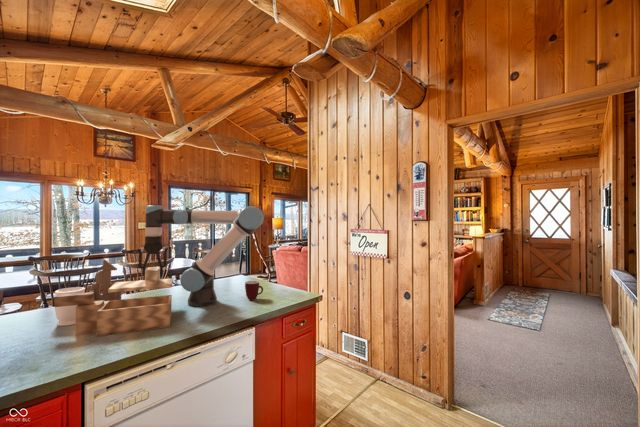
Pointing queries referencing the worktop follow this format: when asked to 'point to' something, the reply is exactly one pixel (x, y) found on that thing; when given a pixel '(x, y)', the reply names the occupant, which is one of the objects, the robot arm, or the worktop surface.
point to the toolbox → (123, 315)
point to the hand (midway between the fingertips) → (152, 281)
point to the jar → (67, 307)
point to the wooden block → (74, 299)
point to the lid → (143, 282)
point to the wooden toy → (105, 284)
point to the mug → (252, 289)
